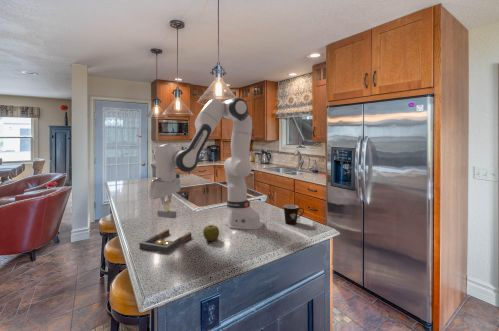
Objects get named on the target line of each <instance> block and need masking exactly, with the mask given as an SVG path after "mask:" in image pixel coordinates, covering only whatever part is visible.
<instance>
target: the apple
mask: <svg viewBox="0 0 499 331" xmlns="http://www.w3.org/2000/svg"><path fill="white" fill-rule="evenodd" d="M202 234H203V235H202V236H203V237H204V239H205V240H206V241H209V242H216V241H217V240H218V239H219V236H220V230H219V227H218V226H217V225H214V224H210V225H209V224H208V225H206V226H205V227H203V232H202Z"/></svg>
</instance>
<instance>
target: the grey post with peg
mask: <svg viewBox="0 0 499 331" xmlns="http://www.w3.org/2000/svg"><path fill="white" fill-rule="evenodd" d="M164 199H165V201H167V204H166V205H163V209H158V210H157V214H156V215H157V217H158V218H166V219H167V218H168V219H176V218H177V216H178V215H177V211H173V210H170V203H169V199H167V198H164Z"/></svg>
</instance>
